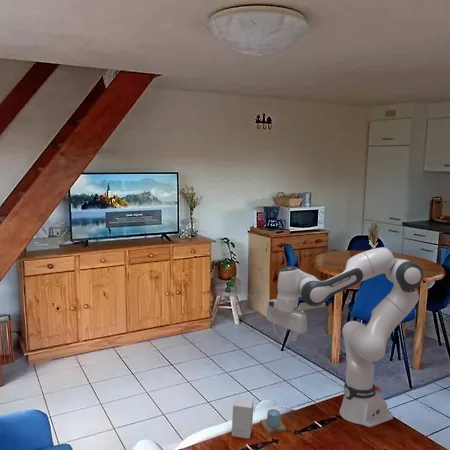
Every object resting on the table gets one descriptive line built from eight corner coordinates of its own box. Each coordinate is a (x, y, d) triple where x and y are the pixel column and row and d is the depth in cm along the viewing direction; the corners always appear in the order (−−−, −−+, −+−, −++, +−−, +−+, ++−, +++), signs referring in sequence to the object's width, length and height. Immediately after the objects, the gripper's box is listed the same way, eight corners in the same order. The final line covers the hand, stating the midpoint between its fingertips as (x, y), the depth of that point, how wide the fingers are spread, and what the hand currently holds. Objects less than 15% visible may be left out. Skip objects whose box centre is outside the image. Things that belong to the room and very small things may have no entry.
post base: (277, 420, 186) (278, 409, 186) (286, 430, 179) (287, 420, 178) (259, 423, 184) (260, 412, 183) (268, 434, 176) (268, 423, 176)
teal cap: (273, 419, 185) (273, 407, 184) (282, 424, 181) (282, 413, 180) (264, 423, 182) (265, 411, 181) (273, 429, 178) (274, 417, 177)
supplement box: (249, 439, 173) (251, 408, 171) (231, 436, 174) (232, 405, 172) (252, 428, 180) (254, 398, 178) (234, 425, 181) (235, 396, 180)
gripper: (311, 310, 182) (309, 343, 184) (274, 298, 197) (273, 328, 199) (301, 313, 178) (299, 346, 179) (264, 300, 193) (263, 331, 195)
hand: (285, 337), depth 189 cm, fingers open, 8 cm apart
